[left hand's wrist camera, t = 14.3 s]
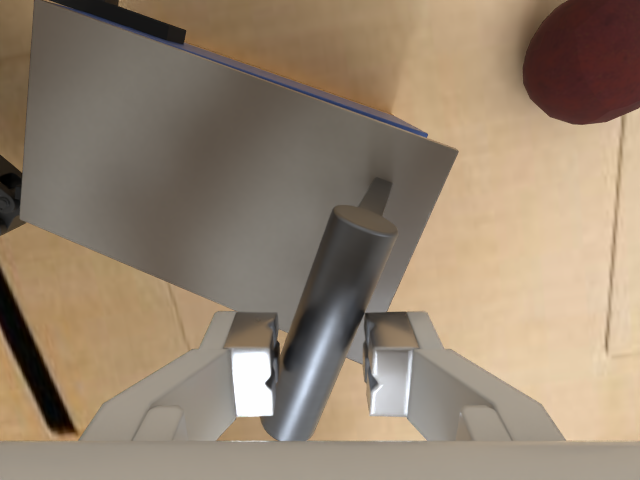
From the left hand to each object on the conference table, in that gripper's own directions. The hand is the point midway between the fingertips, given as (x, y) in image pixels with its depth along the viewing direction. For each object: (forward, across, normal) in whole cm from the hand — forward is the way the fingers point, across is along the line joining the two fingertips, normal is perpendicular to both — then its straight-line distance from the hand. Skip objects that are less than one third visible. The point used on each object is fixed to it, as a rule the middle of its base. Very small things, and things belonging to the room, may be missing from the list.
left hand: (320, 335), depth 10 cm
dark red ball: (+22, -16, -7) cm, 28 cm away
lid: (+9, +5, -2) cm, 10 cm away
